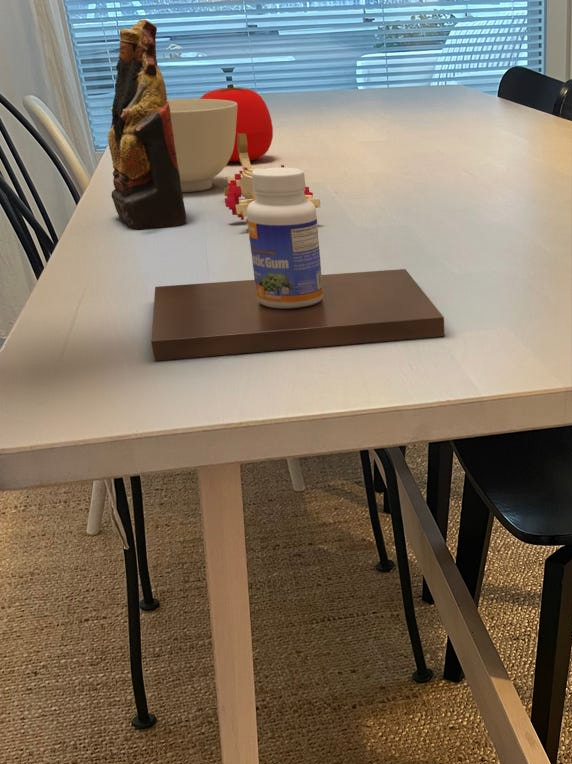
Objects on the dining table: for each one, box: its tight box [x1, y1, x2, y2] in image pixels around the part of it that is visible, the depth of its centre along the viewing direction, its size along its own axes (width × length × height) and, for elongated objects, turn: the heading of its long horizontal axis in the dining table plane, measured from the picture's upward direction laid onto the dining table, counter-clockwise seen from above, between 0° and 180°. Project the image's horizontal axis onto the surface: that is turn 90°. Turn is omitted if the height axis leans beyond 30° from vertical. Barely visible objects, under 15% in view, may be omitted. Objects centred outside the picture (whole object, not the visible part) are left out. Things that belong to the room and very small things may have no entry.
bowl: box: [110, 98, 237, 193], centre depth 131 cm, size 16×16×10 cm
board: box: [150, 268, 445, 362], centre depth 81 cm, size 22×16×2 cm
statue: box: [107, 19, 187, 230], centre depth 110 cm, size 12×8×20 cm, turn 22°
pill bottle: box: [246, 166, 323, 309], centre depth 78 cm, size 5×5×10 cm
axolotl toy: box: [223, 134, 321, 222], centre depth 115 cm, size 10×9×25 cm
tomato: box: [199, 83, 274, 163], centre depth 151 cm, size 12×12×10 cm
